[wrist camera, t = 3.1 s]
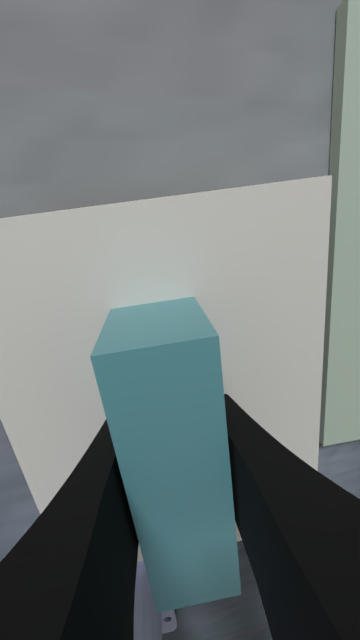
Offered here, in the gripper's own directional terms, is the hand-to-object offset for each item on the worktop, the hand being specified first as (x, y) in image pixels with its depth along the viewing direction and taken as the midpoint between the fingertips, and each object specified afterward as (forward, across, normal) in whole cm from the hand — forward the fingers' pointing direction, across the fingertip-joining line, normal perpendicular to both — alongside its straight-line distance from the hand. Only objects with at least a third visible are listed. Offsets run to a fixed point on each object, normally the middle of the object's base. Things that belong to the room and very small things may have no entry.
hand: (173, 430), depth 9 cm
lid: (+2, 0, 0) cm, 2 cm away
